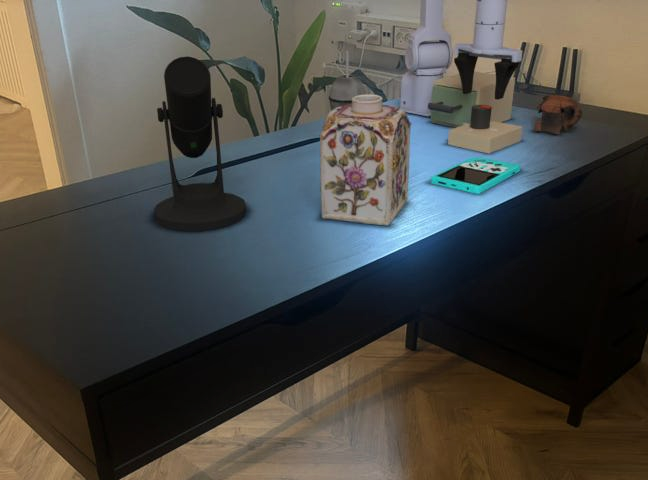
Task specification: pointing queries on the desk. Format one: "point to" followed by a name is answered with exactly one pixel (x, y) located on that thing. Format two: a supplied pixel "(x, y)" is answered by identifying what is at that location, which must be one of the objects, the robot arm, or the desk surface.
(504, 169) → the handheld game console
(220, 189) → the microphone
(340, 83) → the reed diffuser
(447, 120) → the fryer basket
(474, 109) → the timer dial
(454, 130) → the block
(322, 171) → the decorative jar
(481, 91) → the drawer box
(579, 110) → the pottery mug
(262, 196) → the desk surface
